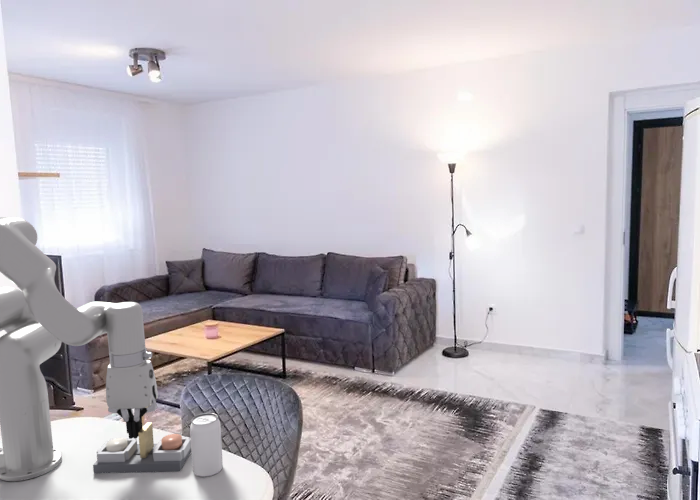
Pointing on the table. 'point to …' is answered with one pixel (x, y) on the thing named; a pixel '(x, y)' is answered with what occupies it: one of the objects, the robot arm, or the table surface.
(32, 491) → the table surface
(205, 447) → the can
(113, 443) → the cream button
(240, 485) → the table surface
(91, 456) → the table surface
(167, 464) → the panel
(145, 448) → the thick plank
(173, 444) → the terracotta button
